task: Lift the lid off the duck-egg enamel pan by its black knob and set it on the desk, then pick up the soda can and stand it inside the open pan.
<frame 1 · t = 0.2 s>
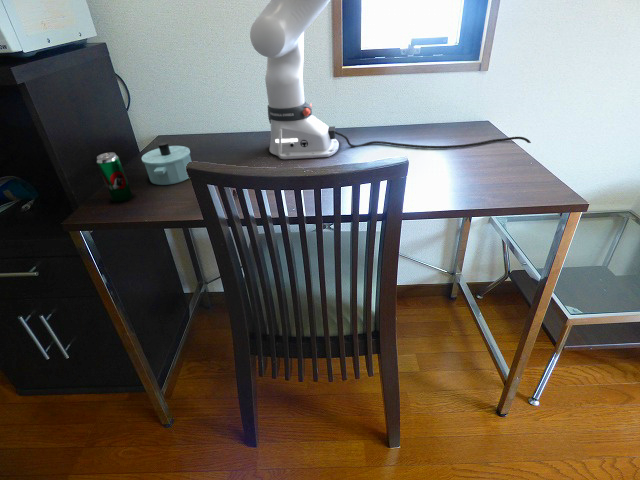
soda can: (123, 199, 102), on the table
pan: (172, 175, 113), on the table
icecream: (229, 194, 100), on the table
lid: (166, 156, 109), point 6 cm above the table, touching pan
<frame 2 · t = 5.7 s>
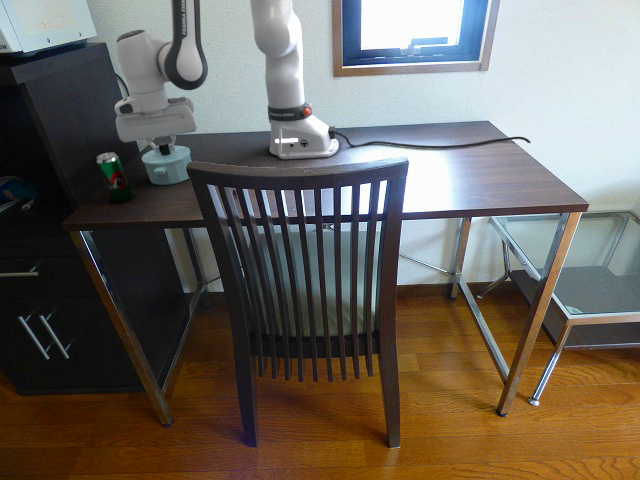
hand: (165, 151, 109), 7 cm above the table, tool pointing down, fingers closed on lid, 2 cm apart
lid: (166, 156, 109), point 6 cm above the table, touching gripper, pan
everything else where it was.
when the fingers open (2 cm above the table, at t = 12.6 s): lid stays where it is, point 1 cm above the table.
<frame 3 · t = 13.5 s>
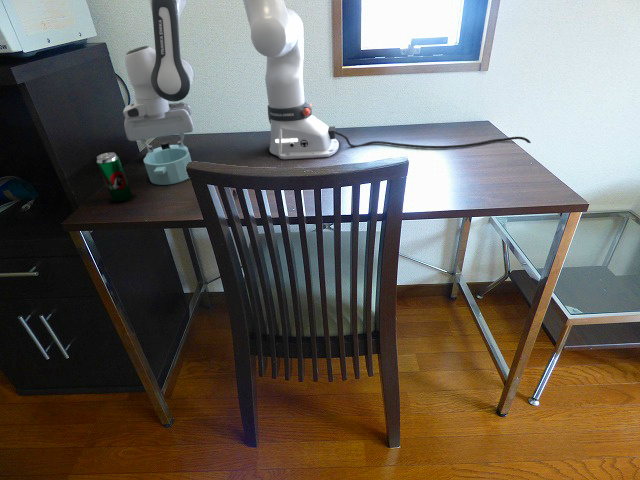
hand: (166, 149, 125), 2 cm above the table, tool pointing down, fingers open, 8 cm apart
lid: (167, 153, 126), point 1 cm above the table
everything else where it was.
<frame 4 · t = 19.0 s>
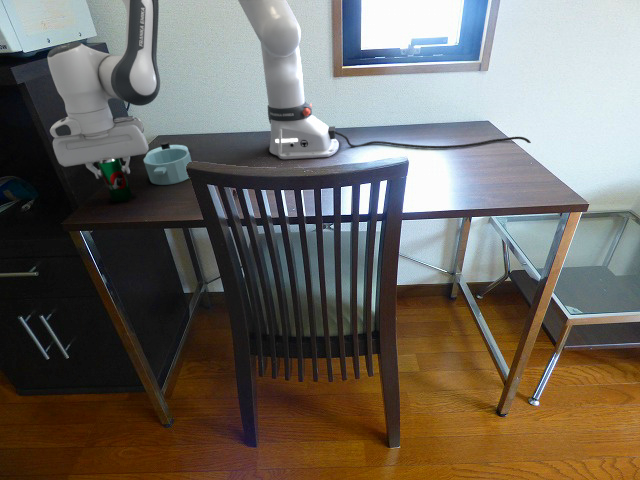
hand: (113, 175, 98), 7 cm above the table, tool pointing down, fingers closed on soda can, 5 cm apart
soda can: (123, 199, 102), on the table, touching gripper
everything else where it was.
when the fingers open (7 cm above the table, at t = 27.1 s): soda can stays where it is, resting on pan.
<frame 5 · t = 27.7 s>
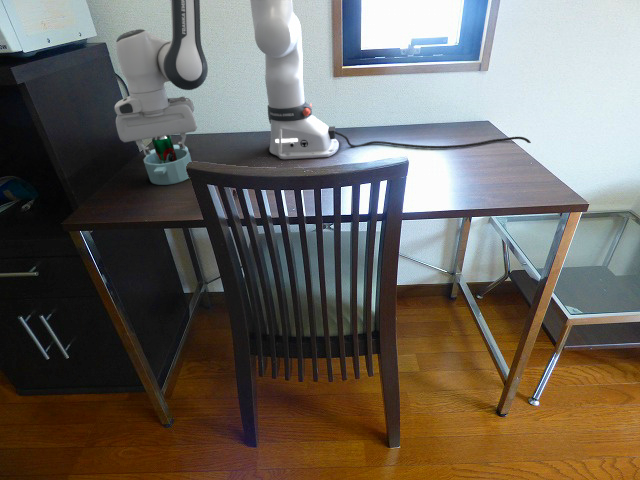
hand: (165, 151, 108), 7 cm above the table, tool pointing down, fingers open, 8 cm apart
soda can: (172, 174, 113), resting on pan
everything else where it was.
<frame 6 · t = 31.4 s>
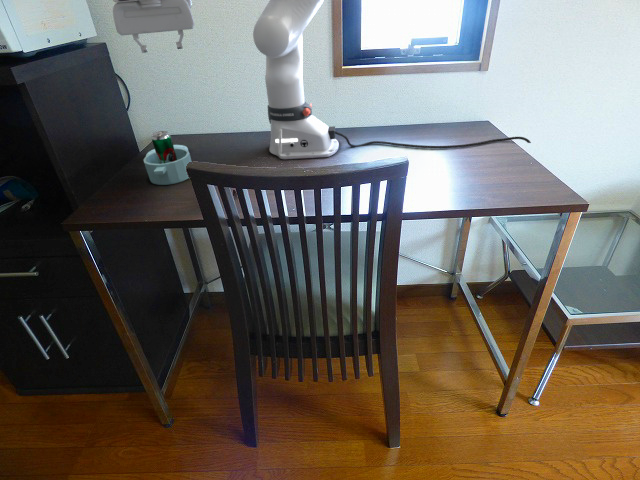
hand: (162, 50, 108), 31 cm above the table, tool pointing down, fingers open, 8 cm apart
nothing on the table moved.
at the end: lid inside the target area (0.1 cm from its centre), point 0.6 cm above the table; soda can 0.1 cm off-centre in the pan, point 0.3 cm above the pan's base; soda can tilted 0° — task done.
